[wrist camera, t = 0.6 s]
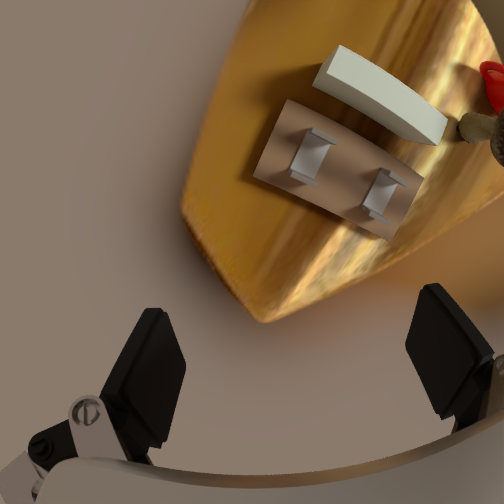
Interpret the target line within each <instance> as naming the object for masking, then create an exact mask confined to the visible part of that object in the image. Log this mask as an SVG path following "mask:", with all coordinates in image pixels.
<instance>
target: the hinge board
mask: <svg viewBox="0 0 504 504" xmlns="http://www.w3.org/2000/svg"><path fill="white" fill-rule="evenodd" d="M252 177H255V178H257V179H259V180H262V181H264V182H266V183H269V184H271V185H273V186H276V187H278V188H280V189H283V190H285V191H287V192H289V193H292V194H294V195H296V196H298V197H300V198H303V199H305V200H307V201H309V202H311V203H313V204H316V205H318V206H320V207H322V208H324V209H326V210H328V211H330V212H332V213H334V214H336V215H338V216H340V217H342V218H344V219H346V220H348V221H350V222H352V223H354V224H356V225H358V226H360V227H362V228H364V229H366V230H368V231H370V232H372V233H374V234H376V235H377V236H379V237H381V238H383V239H385V240H387V241H389V242H391V240H392V238H393V236H394V235H395V233H396V231H397V229H398V228H399V226H400V224H401V222H402V220H403V219H404V217H405V215H406V213H407V211H408V209H409V207H410V205H411V204H412V202H413V200H414V198H415V196H416V194H417V192H418V190H419V188H420V186H421V184H422V182H423V179H424V178H423V177H422V176H420V175H419V174H418V173H416V172H415V171H414V170H412V169H411V168H409V167H408V166H407V165H405V164H404V163H402V162H401V161H399V160H398V159H396V158H395V157H394V156H392V155H390V154H389V153H387V152H386V151H384V150H383V149H381V148H380V147H378V146H376V145H375V144H373V143H372V142H370V141H368V140H367V139H365V138H363V137H362V136H360V135H358V134H356V133H355V132H353V131H351V130H349V129H348V128H346V127H344V126H342V125H340V124H339V123H337V122H335V121H333V120H331V119H329V118H327V117H325V116H323V115H321V114H319V113H317V112H315V111H313V110H311V109H309V108H307V107H305V106H303V105H300V104H298V103H296V102H294V101H292V100H289V99H287V100H286V102H285V104H284V106H283V108H282V111H281V113H280V115H279V117H278V119H277V121H276V124H275V126H274V128H273V130H272V132H271V135H270V137H269V139H268V141H267V143H266V146H265V148H264V150H263V152H262V155H261V157H260V159H259V161H258V164H257V166H256V168H255V170H254V173H253V176H252Z"/></svg>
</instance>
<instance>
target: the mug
mask: <svg viewBox="0 0 504 504" xmlns="http://www.w3.org/2000/svg"><path fill="white" fill-rule="evenodd" d="M479 69H480V73H481V75H482V76H483V77H484V78H485V79H486V81H485V86H486V93H487V96H488V99H489V102H490V104H491V106H492V107H493V109H494V110H495V111H496V112H497V113H498V114H500V112H501V110H502V109H503V108H504V65H502V64H499V63H497V62H493V61H485V62H482V63H481V64H480V67H479ZM488 70H494V71H497V72H490V73H488Z"/></svg>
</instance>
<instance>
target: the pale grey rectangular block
mask: <svg viewBox="0 0 504 504" xmlns="http://www.w3.org/2000/svg"><path fill="white" fill-rule="evenodd" d="M312 86H313V87H315V88H317V89H319V90H321V91H323V92H325V93H327V94H329V95H331V96H333V97H335V98H337V99H339V100H340V101H342V102H344V103H346V104H348V105H350V106H351V107H353V108H355V109H357V110H358V111H360V112H362V113H363V114H365V115H367V116H368V117H370V118H372V119H373V120H375V121H376V122H378V123H380V124H381V125H383V126H384V127H386V128H387V129H389V130H390V131H392V132H393V133H395V134H396V135H398V136H399V137H400V138H402V139H403V140H405V141H411V142H417V143H423V144H429V145H434V146H438V145H439V142H440V140H441V137H442V135H443V132H444V130H445V127H446V125H447V122H448V119H447V118H446V117H445V116H443V115H442V114H441V113H440V112H439V111H438V110H437V109H435V108H434V107H433V106H432V105H431V104H429V103H428V102H427V101H426V100H424V99H423V98H422V97H421V96H419V95H418V94H417V93H415V92H414V91H413V90H411V89H410V88H409V87H407V86H406V85H405V84H403V83H402V82H400V81H399V80H398V79H396V78H395V77H393V76H392V75H390V74H389V73H387V72H386V71H384V70H383V69H381V68H379V67H378V66H376V65H375V64H373V63H371V62H370V61H368V60H366V59H365V58H363V57H361V56H359V55H358V54H356V53H354V52H352V51H350V50H349V49H347V48H345V47H343V46H341V45H339V46H338V47H337V48H336V49H335V50H334V51H333V52H332V53H331V55H330V56H329V57H328V58H327V59H326V60H325V61H324V62H323V63H322V65H321V67H320V70H319V72H318V74H317V76H316V78H315V80H314V82H313V84H312Z"/></svg>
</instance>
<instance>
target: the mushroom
mask: <svg viewBox="0 0 504 504" xmlns="http://www.w3.org/2000/svg"><path fill="white" fill-rule="evenodd" d="M456 130H457V133H458V135H459V136H460V138H461V139H462V140H463V141H466V142H468V143H477V142H479V141H484V140H487V139H489V140H490V147H491V151H492V153H493V156H494V157H495V159H496V160H497V161H498V163H499V164H500V165H502V166H503V167H504V108H503V109H502V110H501V112H500V114H499V116H498V117H497V119H495V118H492V117H489V116H487V115H483V114H479V113H474V112H470V113H466V114H464V115H463V116H462V118H461V120H460V122H459V125H458V126H457V128H456Z"/></svg>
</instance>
